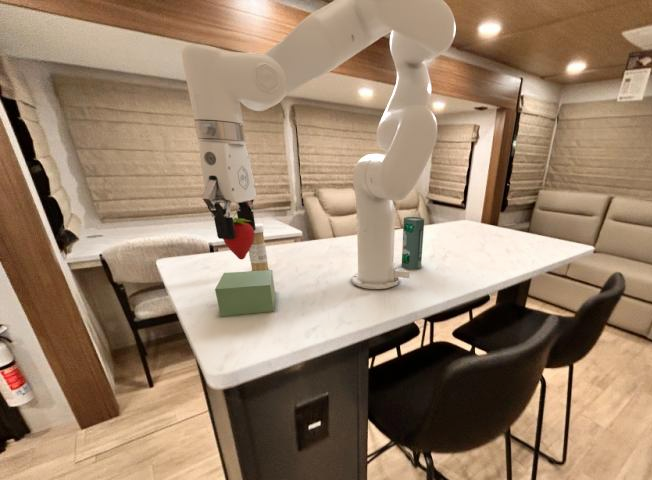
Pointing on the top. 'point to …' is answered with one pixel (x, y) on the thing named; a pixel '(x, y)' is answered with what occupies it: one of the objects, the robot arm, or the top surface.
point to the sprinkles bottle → (258, 250)
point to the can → (412, 242)
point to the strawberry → (241, 238)
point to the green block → (245, 292)
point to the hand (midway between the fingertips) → (238, 233)
